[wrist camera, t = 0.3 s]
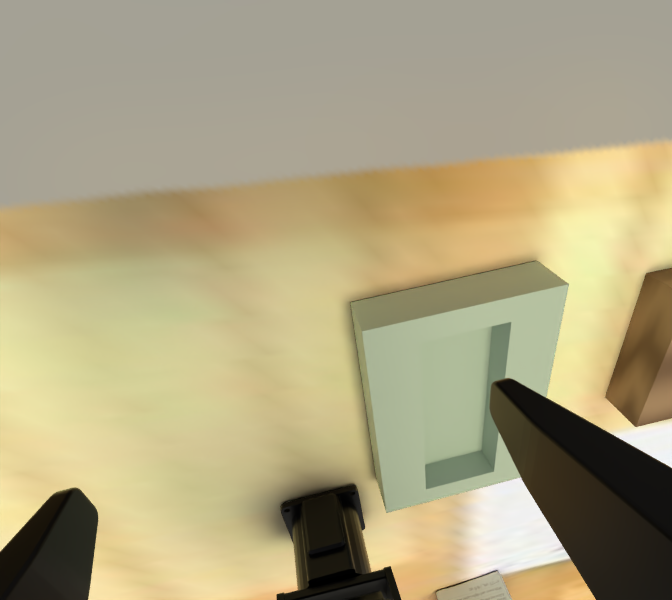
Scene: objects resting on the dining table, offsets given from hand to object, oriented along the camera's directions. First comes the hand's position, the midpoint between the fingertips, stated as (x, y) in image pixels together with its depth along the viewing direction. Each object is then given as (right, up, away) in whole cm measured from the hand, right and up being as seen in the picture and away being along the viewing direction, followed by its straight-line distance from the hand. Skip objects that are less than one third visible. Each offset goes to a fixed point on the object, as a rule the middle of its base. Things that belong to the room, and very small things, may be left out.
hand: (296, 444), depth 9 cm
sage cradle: (+9, -3, +21) cm, 23 cm away
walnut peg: (+24, 0, +23) cm, 33 cm away
